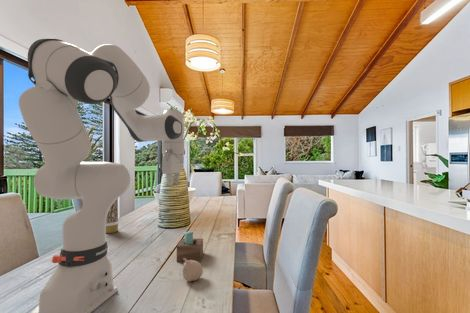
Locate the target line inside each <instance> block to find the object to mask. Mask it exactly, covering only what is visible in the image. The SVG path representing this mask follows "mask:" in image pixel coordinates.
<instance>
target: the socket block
mask: <svg viewBox="0 0 470 313" xmlns="http://www.w3.org/2000/svg"><path fill="white" fill-rule="evenodd" d="M203 254H204V238H193V244H185V238H180V240H179V242H178V243H177V245H176V262H177V263H185V260H183V258H186V259H187V260H194V261H197V262H199V263H200V262H201V261H202V257H203Z"/></svg>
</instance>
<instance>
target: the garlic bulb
mask: <svg viewBox="0 0 470 313" xmlns="http://www.w3.org/2000/svg"><path fill="white" fill-rule="evenodd" d="M183 260H185V262H183V267H182V277H183V279H184V280H185V281H187V282H193V281H197V280H199V279H201V277H202V275H203V272H204V271H203V266H202V264H201V263H200V262H197V261H194V260H187V259H186V258H183Z"/></svg>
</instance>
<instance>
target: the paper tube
mask: <svg viewBox="0 0 470 313" xmlns="http://www.w3.org/2000/svg"><path fill="white" fill-rule="evenodd" d="M118 199H119V198H118ZM118 199H117V200H116V201H115V202H114V203H113V204H112V206H111V208H110V209H109V212H108V215H107V219H106V234H114V233H117V232H118V231H119V200H118Z"/></svg>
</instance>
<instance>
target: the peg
mask: <svg viewBox="0 0 470 313" xmlns="http://www.w3.org/2000/svg"><path fill="white" fill-rule="evenodd" d="M184 239H185V244H193V239H194V233H193V231H191V230H189V231H185V232H184Z"/></svg>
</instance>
